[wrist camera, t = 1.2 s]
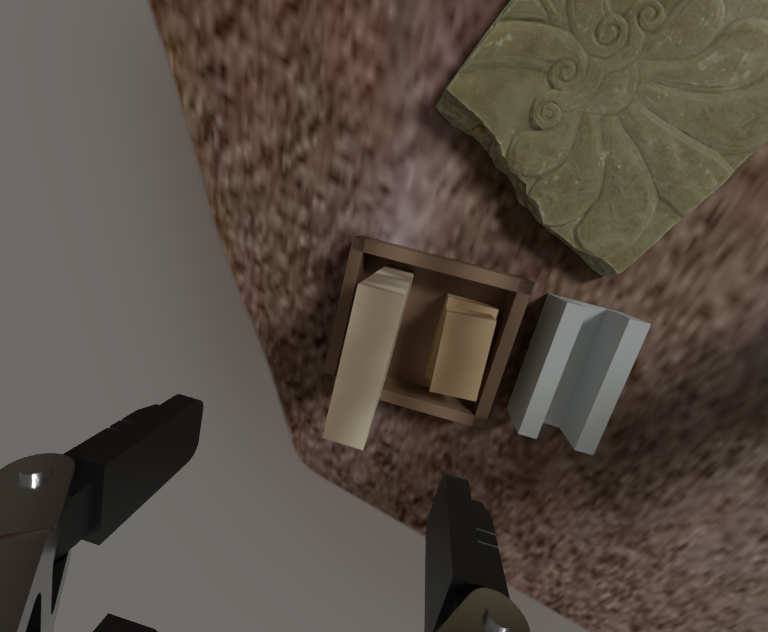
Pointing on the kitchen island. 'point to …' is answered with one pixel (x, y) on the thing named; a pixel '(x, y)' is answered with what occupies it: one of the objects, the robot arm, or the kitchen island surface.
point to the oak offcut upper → (461, 353)
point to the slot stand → (575, 370)
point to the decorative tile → (616, 112)
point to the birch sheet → (367, 354)
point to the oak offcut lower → (460, 303)
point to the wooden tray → (431, 324)
